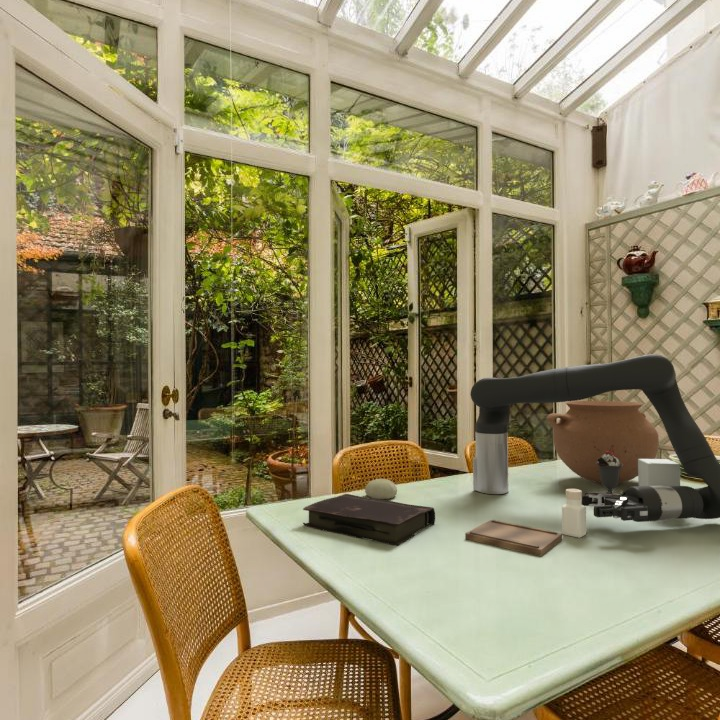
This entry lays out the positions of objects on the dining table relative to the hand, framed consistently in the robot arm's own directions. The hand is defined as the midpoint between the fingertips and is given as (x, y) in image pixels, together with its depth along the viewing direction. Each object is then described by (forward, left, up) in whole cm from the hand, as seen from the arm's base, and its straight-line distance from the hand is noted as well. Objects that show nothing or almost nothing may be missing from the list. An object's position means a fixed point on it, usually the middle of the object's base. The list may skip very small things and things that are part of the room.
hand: (583, 506), depth 109 cm
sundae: (-2, +32, -6) cm, 33 cm away
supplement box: (+10, +29, -6) cm, 32 cm away
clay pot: (-9, +55, -6) cm, 57 cm away
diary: (-40, -24, -7) cm, 47 cm away
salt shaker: (-1, -2, -6) cm, 7 cm away
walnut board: (-10, -13, -6) cm, 17 cm away
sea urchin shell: (-54, -1, -6) cm, 55 cm away
